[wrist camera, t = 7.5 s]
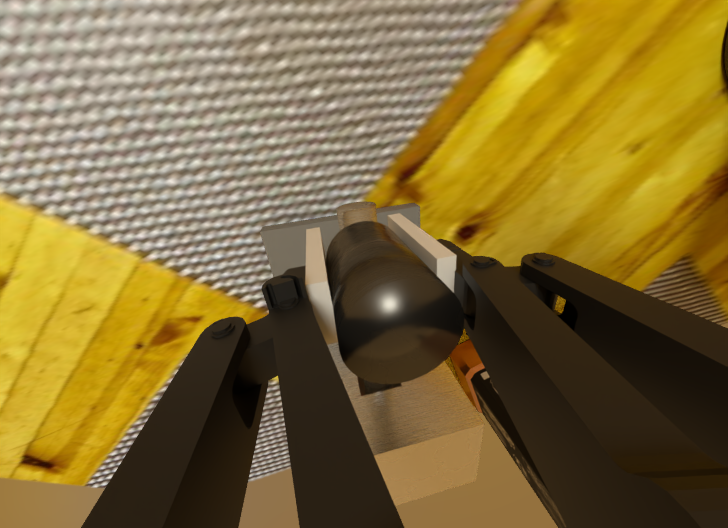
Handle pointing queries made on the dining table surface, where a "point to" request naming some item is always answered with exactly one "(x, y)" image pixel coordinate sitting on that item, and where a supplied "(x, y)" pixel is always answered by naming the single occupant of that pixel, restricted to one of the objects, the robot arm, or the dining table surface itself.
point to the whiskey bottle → (499, 419)
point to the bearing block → (418, 431)
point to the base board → (290, 238)
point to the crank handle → (387, 303)
